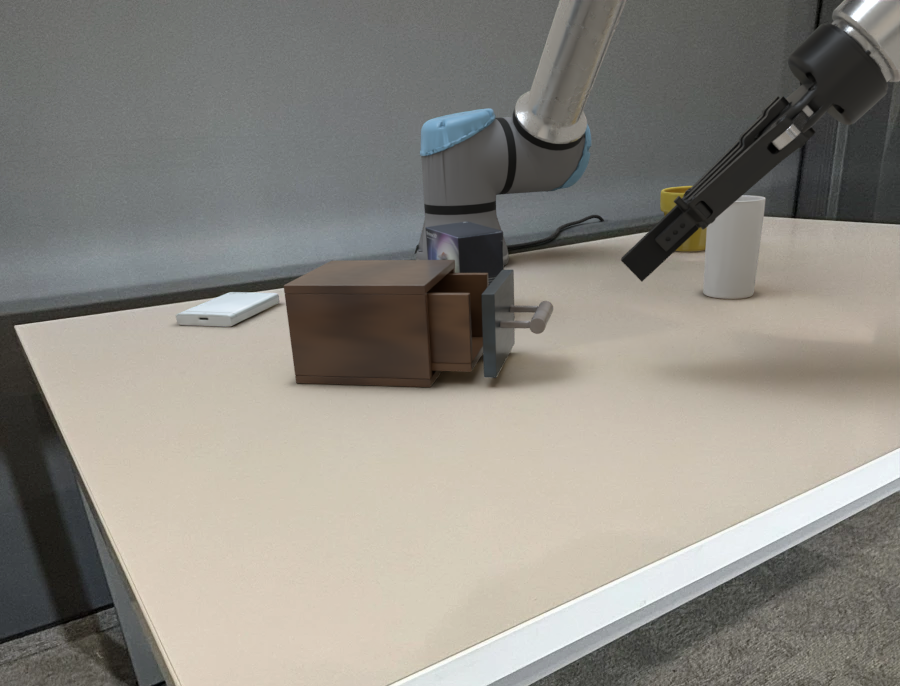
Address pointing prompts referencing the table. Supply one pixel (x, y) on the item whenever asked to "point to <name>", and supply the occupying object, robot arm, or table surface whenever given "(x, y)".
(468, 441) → the table surface
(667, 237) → the robot arm
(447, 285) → the drawer
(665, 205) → the flower pot
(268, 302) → the hard drive
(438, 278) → the cabinet
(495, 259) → the small box
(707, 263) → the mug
